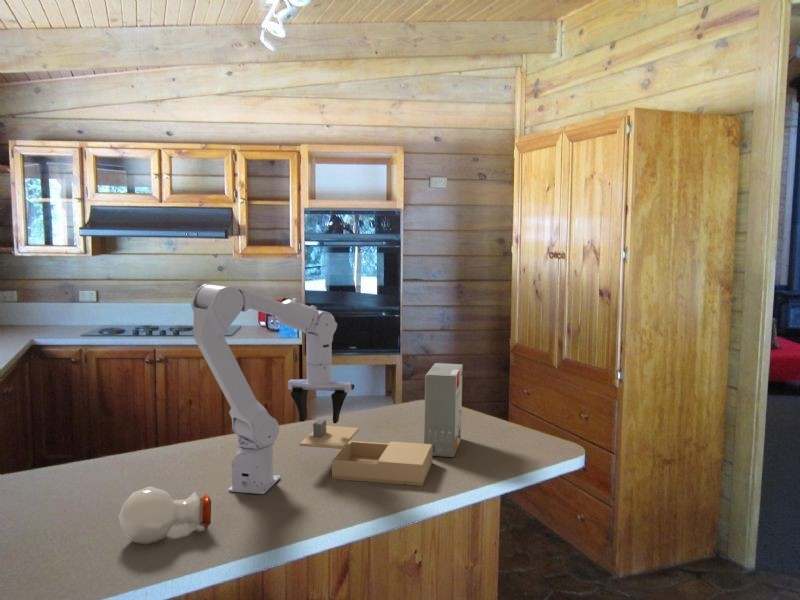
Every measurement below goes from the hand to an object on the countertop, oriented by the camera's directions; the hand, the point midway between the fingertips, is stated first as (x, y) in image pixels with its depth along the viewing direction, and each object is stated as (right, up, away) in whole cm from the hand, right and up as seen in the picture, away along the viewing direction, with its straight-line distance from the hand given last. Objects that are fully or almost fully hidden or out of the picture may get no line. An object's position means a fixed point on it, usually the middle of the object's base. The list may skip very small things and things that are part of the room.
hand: (319, 421), depth 151 cm
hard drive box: (+29, -9, +14) cm, 34 cm away
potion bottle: (-23, -14, -34) cm, 44 cm away
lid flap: (+3, -4, 0) cm, 5 cm away
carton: (+15, -11, -2) cm, 18 cm away
